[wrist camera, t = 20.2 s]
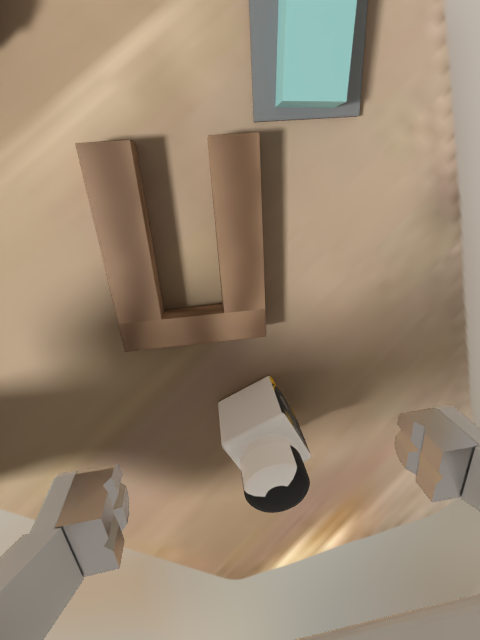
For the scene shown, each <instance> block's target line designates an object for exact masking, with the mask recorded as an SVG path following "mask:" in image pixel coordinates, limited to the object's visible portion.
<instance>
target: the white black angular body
mask: <svg viewBox="0 0 480 640" xmlns="http://www.w3.org/2000/svg"><path fill="white" fill-rule="evenodd" d="M218 410H219V421H220V432H221V444H222V447H223V449H224V450H225V451H226V452H227V454H228V455H229V456H230V457H231V459H232V460H233V461H234V462H235V464H236V465H237V466H238V467H239V469H240V470H241V474H242V481H243V488H244V494H245V498H246V500H247V502H248V503H249V504H250V505H251V506H253V507H254V508H256V509H258V510H260V511H263V512H270V513H274V512H281V511H285V510H288V509H290V508H292V507H294V506H296V505H297V504H298V503H300V502H301V501H302V500H303V498H304V497H305V495H306V494H307V492H308V489H309V485H310V481H309V477H308V474H307V471H306V469H305V466H304V463H303V462H304V461H306V460H308V459H310V458H311V454H310V451H309V449H308V447H307V444H306V442H305V439H304V437H303V434H302V432H301V429H300V427H299V424H298V422H297V419H296V417H295V414H294V413H293V411H292V409H291V408H290V406H289V405H288V403H287V401H286V400H285V398H284V397H283V395H282V393H281V392H280V390H279V389H278V387H277V385H276V384H275V382H274V381H273V379H272V377H271V376H267V377H265V378H263V379H261V380H259V381H257V382H255V383H254V384H252V385H250V386H248V387H246V388H244V389H242V390H240V391H238V392H237V393H235V394H233V395H231V396H229V397H227V398H225V399H223V400H221V401H220V402H219V403H218Z"/></svg>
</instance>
